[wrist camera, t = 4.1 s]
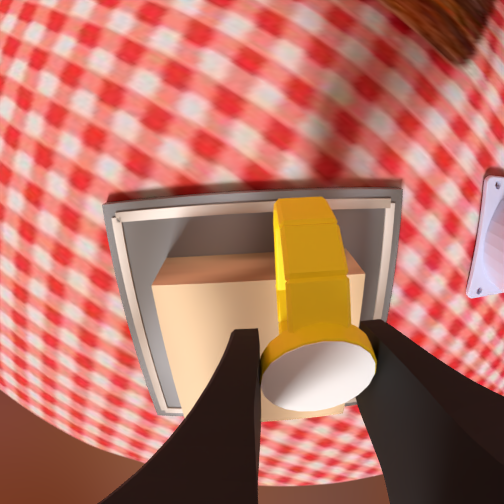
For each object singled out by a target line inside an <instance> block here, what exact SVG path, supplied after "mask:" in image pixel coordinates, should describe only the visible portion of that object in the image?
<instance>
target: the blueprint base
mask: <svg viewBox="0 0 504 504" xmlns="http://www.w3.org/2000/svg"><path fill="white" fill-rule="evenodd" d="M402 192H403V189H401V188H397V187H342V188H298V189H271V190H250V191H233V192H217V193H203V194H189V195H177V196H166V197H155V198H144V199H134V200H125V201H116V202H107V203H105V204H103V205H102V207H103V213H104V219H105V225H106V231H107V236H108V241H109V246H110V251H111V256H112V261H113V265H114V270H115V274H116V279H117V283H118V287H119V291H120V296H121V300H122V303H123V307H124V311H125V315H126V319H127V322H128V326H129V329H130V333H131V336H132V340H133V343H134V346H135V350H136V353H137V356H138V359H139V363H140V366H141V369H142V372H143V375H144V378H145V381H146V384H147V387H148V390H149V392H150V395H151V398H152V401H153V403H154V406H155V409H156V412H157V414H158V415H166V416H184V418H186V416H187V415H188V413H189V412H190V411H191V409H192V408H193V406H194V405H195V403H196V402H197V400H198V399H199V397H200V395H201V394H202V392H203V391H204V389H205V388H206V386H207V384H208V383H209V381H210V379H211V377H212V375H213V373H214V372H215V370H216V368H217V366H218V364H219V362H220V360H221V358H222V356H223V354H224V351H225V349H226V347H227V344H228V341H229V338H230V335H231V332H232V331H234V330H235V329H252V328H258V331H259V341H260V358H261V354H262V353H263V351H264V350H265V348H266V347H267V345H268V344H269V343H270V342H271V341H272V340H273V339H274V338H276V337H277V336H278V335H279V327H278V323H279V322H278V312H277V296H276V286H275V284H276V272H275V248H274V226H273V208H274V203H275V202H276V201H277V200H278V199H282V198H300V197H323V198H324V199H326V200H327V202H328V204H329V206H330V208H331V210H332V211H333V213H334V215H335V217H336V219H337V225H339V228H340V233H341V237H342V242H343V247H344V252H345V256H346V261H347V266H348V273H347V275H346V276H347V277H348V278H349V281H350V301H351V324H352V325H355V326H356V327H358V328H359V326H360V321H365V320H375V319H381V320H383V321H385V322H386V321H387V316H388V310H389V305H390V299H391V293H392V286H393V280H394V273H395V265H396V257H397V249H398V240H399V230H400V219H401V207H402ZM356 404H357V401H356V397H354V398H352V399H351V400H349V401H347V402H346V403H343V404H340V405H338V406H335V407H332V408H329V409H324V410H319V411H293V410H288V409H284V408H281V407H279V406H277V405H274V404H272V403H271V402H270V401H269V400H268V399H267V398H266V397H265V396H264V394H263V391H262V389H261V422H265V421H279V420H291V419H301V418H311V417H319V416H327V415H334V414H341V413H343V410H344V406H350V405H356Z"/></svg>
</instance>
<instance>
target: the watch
mask: <svg viewBox="0 0 504 504" xmlns="http://www.w3.org/2000/svg"><path fill="white" fill-rule="evenodd" d="M273 226H274V248H275V272H276V284H275V286H276V296H277V312H278V322H279V323H278V327H279V335H278V336H277V337H276V338H274V339H273V340H272V341H271V342H270V343H269V344H268V345H267V347H266V348H265V350H264V351H263V353H262V354H261V358H260V386H261V389H262V391H263V394H264V396H265V397H266V398H267V399H268V400H269V401H270V402H271V403H272V404H274V405H277V406H279V407H281V408H284V409H288V410H293V411H319V410H324V409H329V408H332V407H335V406H338V405H340V404H343V403H346V402H347V401H349V400H351V399H352V398H354V397H356V396H357V395H359V394H360V393H361V392H362V391H363V390H364V389H365V388H366V387H367V386H368V385H369V384H370V382H371V380H372V378H373V377H374V375H375V373H376V365H377V359H376V356H375V353H374V351H373V348H372V345H371V343H370V341H369V339H368V337H367V335H366V334H365V333H364V332H363V331H362V330H360V329H359V328H358V327H356V326H355V325H352V324H351V301H350V281H349V278H348V277H347V276H346V275H347V273H348V266H347V261H346V256H345V252H344V247H343V242H342V237H341V233H340V228H339V225H337V219H336V217H335V215H334V213H333V211H332V210H331V208H330V206H329V204H328V202H327V200H326V199H324V198H323V197H300V198H282V199H278V200H277V201H276V202H275V203H274V208H273Z"/></svg>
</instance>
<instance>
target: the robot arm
mask: <svg viewBox="0 0 504 504" xmlns="http://www.w3.org/2000/svg"><path fill="white" fill-rule="evenodd" d="M496 182H497V186H496V187H495V184H496ZM478 288H479V289H478ZM477 289H478V290H477ZM498 293H504V177H502V176H493V175H489V176H487V177H486V178H485V180H484V187H483V197H482V206H481V214H480V221H479V228H478V234H477V240H476V246H475V251H474V257H473V262H472V266H471V271H470V276H469V280H468V284H467V288H466V295H467V296H468V297H470V298H476V297H482V296H487V295H493V294H498ZM359 329H360V330H362V331H363V332H364V333H365V334H366V335H367V337H368V339H369V341H370V343H371V345H372V348H373V351H374V353H375V356H376V359H377V365H376V373H375V375H374V377H373V378H372V380H371V382H370V384H369V385H368V386H367V387H366V388H365V389H364V390H363V391H362V392H361V393H360V394H359V395H357V396H356V401H357V405H358V408H359V410H360V413H361V415H362V418H363V421H364V423H365V426H366V429H367V431H368V434H369V436H370V439H371V441H372V444H373V447H374V449H375V452H376V454H377V457H378V460H379V462H380V465H381V468H382V472H383V475H384V478H385V482H386V487H387V492H388V496H389V501H390V504H504V396H502V395H500V394H497V393H495V392H493V391H491V390H489V389H487V388H486V387H484V386H482V385H480V384H478V383H476V382H474V381H472V380H471V379H469V378H467V377H465V376H464V375H462V374H461V373H459V372H457V371H456V370H454V369H452V368H451V367H449V366H448V365H446V364H445V363H443V362H442V361H440V360H439V359H437V358H436V357H434V356H433V355H431V354H430V353H428V352H427V351H426V350H424V349H423V348H421V347H420V346H419V345H417V344H416V343H414V342H413V341H412V340H410V339H409V338H407V337H406V336H405V335H403V334H402V333H401V332H399V331H398V330H396V329H395V328H394V327H392V326H391V325H389V324H388V323H386V322H385V321H383V320H381V319H375V320H365V321H360V326H359ZM260 432H261V386H260V341H259V331H258V328H252V329H235V330H234V331H232V332H231V335H230V338H229V341H228V344H227V347H226V349H225V351H224V354H223V356H222V358H221V360H220V362H219V364H218V366H217V368H216V370H215V372H214V373H213V375H212V377H211V379H210V381H209V383H208V384H207V386H206V388H205V389H204V391H203V392H202V394H201V395H200V397H199V399H198V400H197V402H196V403H195V405H194V406H193V408H192V409H191V411H190V412H189V413H188V415H187V416H186V418H185V419H184V420H183V421H182V423H181V424H180V425H179V427H178V428H177V429H176V430H175V432H174V433H173V434H172V435H171V436H170V438H169V439H168V440H167V441H166V442H165V443H164V444H163V445H162V447H161V448H160V449H159V450H158V451H157V452H156V453H155V454H154V455H153V456H152V457H151V458H150V459H149V460H148V461H147V462H146V463H145V464H144V465H143V466H142V468H140V469H139V470H138V471H137V472H136V473H135V474H134V475H132V476H131V477H130V478H129V479H128V480H127V481H126V482H124V483H123V484H122V485H121V486H119V488H117V489H116V490H115V491H114V492H112V493H111V494H110V495H109V496H107V497H106V498H105V499H103V500H102V501H101V502H99V503H98V504H258V469H259V451H260Z"/></svg>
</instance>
